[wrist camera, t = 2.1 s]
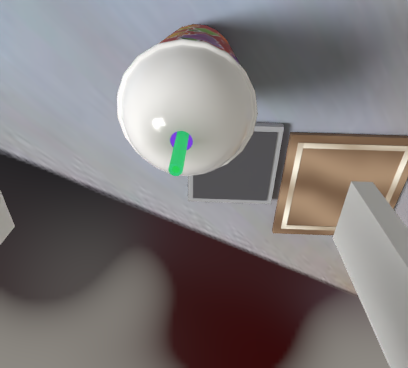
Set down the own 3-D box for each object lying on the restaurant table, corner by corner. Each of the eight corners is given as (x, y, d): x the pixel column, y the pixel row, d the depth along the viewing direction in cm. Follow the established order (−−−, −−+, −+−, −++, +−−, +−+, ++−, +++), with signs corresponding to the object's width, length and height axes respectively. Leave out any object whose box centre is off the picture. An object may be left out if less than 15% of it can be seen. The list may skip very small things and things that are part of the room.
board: (290, 132, 34) (291, 135, 34) (421, 136, 34) (425, 139, 33) (272, 230, 42) (273, 233, 41) (379, 233, 42) (381, 237, 41)
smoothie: (153, 99, 33) (88, 231, 16) (155, 6, 28) (65, 57, 11) (234, 108, 33) (252, 248, 16) (249, 18, 28) (296, 84, 12)
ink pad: (188, 120, 34) (187, 124, 33) (282, 123, 34) (284, 127, 33) (188, 196, 39) (188, 202, 38) (269, 199, 39) (271, 204, 38)
